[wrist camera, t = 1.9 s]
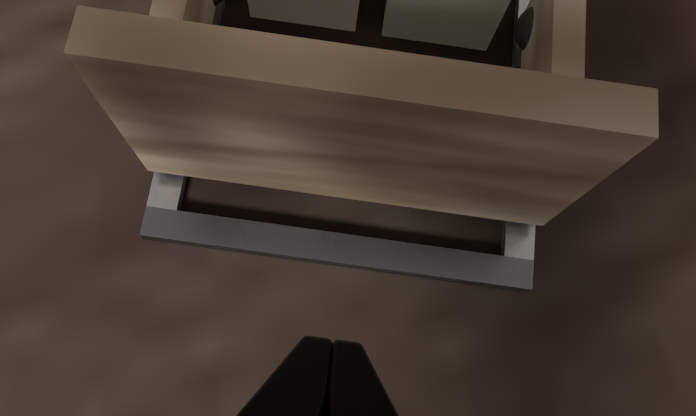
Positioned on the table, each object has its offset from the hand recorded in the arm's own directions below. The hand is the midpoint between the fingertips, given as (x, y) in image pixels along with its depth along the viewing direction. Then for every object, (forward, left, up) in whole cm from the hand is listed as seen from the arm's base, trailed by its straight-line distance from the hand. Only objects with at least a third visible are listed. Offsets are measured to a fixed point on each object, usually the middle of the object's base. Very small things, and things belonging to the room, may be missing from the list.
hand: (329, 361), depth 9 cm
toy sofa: (+8, +5, -11) cm, 15 cm away
